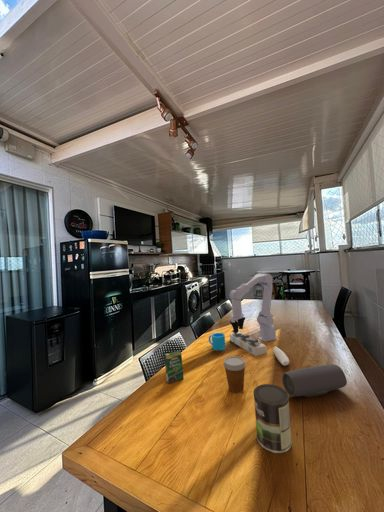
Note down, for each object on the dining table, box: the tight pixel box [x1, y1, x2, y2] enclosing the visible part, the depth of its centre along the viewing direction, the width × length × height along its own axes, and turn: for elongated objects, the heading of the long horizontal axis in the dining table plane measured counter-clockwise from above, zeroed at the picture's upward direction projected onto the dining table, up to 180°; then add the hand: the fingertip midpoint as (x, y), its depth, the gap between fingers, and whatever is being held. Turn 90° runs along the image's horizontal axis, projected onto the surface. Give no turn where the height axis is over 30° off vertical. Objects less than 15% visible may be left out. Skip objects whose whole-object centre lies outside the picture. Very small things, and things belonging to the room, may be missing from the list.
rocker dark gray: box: [240, 333, 250, 338], centre depth 140 cm, size 3×6×2 cm, turn 21°
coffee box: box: [164, 350, 184, 385], centre depth 106 cm, size 8×3×13 cm, turn 113°
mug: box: [208, 332, 226, 352], centre depth 142 cm, size 12×8×8 cm
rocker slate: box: [248, 338, 260, 343], centre depth 131 cm, size 3×6×2 cm, turn 21°
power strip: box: [229, 332, 268, 357], centre depth 143 cm, size 8×34×5 cm, turn 21°
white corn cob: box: [272, 345, 290, 367], centre depth 120 cm, size 5×20×5 cm, turn 176°
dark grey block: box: [232, 329, 242, 336], centre depth 148 cm, size 3×6×2 cm, turn 21°
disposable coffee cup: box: [222, 355, 246, 394], centre depth 96 cm, size 10×10×12 cm
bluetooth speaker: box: [281, 364, 348, 398], centre depth 90 cm, size 23×9×10 cm, turn 100°
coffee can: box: [252, 383, 293, 454], centre depth 69 cm, size 10×10×14 cm
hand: (238, 330), depth 140 cm, fingers open, 7 cm apart
